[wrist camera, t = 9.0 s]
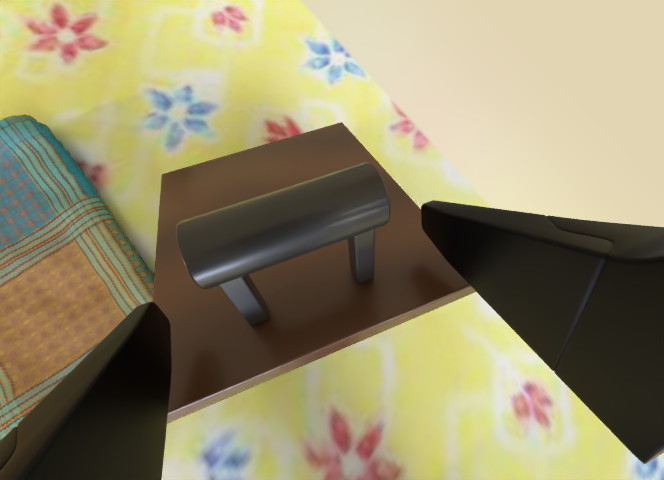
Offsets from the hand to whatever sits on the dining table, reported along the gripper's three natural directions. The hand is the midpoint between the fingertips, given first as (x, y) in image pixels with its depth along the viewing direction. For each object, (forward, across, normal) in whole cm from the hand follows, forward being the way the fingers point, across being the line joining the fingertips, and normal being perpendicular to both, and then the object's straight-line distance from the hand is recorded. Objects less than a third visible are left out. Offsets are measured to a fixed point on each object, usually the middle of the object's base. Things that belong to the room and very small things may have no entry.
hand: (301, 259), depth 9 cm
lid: (+5, 0, +1) cm, 5 cm away
